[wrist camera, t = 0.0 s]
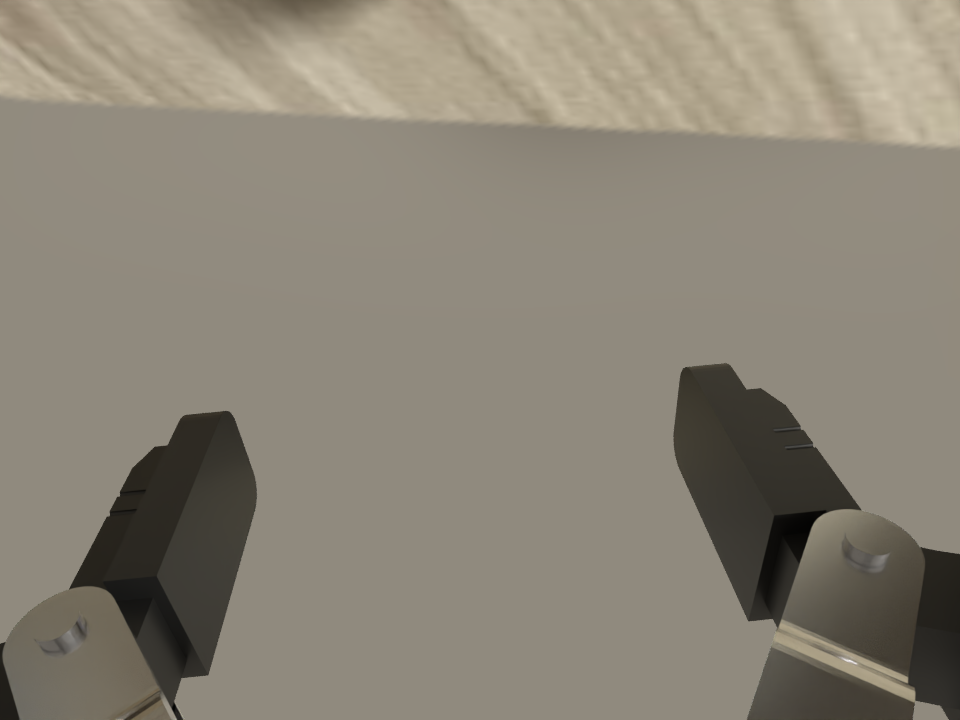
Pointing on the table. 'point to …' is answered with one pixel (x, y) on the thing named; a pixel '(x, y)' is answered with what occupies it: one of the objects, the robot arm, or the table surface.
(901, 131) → the table surface
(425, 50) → the table surface
